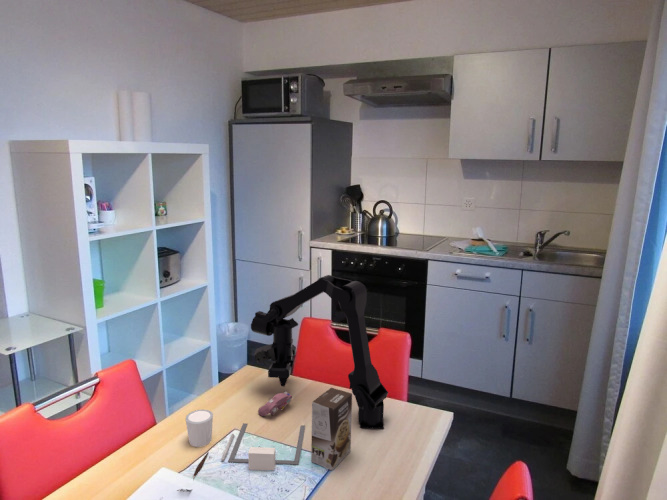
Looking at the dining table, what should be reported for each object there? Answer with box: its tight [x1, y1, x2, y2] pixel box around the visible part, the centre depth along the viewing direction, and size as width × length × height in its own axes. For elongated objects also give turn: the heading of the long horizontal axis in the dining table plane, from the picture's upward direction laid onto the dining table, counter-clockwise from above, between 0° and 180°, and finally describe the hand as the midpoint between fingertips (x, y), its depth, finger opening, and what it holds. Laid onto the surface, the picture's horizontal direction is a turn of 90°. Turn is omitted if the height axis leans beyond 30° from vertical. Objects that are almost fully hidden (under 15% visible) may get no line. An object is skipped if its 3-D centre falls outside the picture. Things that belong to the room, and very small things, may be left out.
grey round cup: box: [185, 409, 214, 448], centre depth 123 cm, size 7×7×7 cm
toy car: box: [257, 390, 293, 417], centre depth 138 cm, size 10×5×7 cm, turn 143°
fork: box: [176, 452, 209, 493], centre depth 111 cm, size 3×16×2 cm, turn 174°
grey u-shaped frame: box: [220, 422, 306, 471], centre depth 122 cm, size 19×19×4 cm
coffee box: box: [310, 387, 353, 471], centre depth 117 cm, size 9×6×16 cm
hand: (283, 385), depth 148 cm, fingers closed
